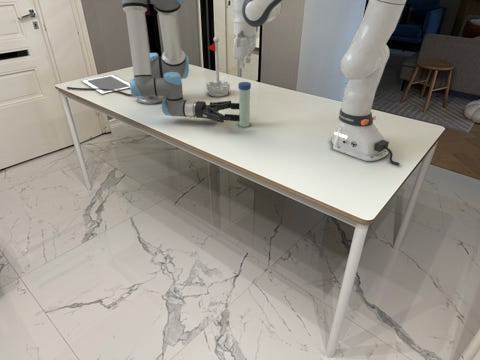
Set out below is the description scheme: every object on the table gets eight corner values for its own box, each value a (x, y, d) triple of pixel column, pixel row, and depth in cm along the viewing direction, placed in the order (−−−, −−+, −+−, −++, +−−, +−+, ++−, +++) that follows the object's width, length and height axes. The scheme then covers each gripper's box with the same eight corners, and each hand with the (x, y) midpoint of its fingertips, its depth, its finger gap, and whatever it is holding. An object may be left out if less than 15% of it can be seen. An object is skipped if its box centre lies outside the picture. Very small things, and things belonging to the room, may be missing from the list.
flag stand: (225, 88, 199) (224, 33, 182) (233, 95, 188) (232, 38, 172) (204, 91, 195) (200, 35, 178) (210, 98, 184) (207, 39, 168)
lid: (236, 88, 145) (236, 84, 144) (242, 85, 149) (242, 81, 148) (246, 90, 143) (246, 86, 142) (253, 87, 147) (253, 83, 146)
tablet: (81, 81, 211) (81, 80, 210) (113, 75, 222) (113, 74, 222) (102, 94, 190) (101, 93, 190) (135, 86, 201) (135, 86, 201)
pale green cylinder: (237, 125, 155) (237, 85, 145) (242, 122, 158) (242, 82, 148) (246, 127, 153) (246, 87, 143) (251, 124, 156) (251, 84, 146)
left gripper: (204, 107, 166) (246, 110, 163) (188, 128, 146) (237, 131, 142) (203, 92, 162) (246, 94, 159) (187, 111, 142) (236, 115, 138)
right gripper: (245, 34, 124) (244, 72, 132) (259, 25, 140) (258, 60, 148) (228, 33, 126) (229, 71, 133) (244, 25, 142) (244, 59, 150)
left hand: (242, 112), depth 151 cm, fingers open, 13 cm apart
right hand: (244, 65), depth 141 cm, fingers open, 7 cm apart
